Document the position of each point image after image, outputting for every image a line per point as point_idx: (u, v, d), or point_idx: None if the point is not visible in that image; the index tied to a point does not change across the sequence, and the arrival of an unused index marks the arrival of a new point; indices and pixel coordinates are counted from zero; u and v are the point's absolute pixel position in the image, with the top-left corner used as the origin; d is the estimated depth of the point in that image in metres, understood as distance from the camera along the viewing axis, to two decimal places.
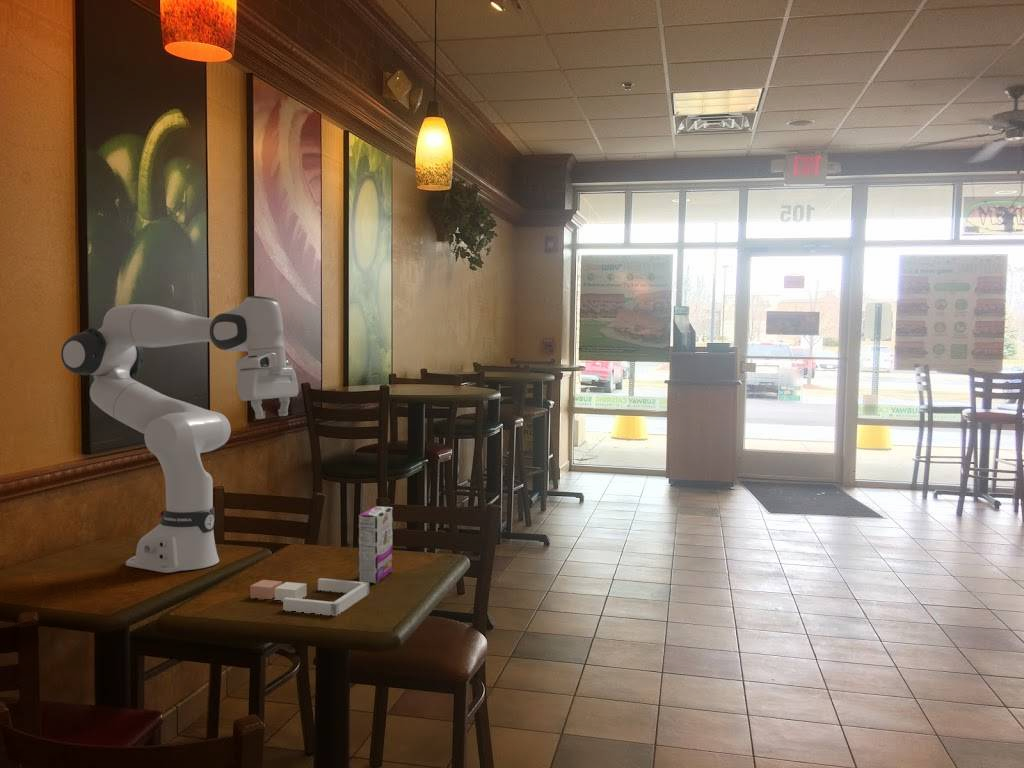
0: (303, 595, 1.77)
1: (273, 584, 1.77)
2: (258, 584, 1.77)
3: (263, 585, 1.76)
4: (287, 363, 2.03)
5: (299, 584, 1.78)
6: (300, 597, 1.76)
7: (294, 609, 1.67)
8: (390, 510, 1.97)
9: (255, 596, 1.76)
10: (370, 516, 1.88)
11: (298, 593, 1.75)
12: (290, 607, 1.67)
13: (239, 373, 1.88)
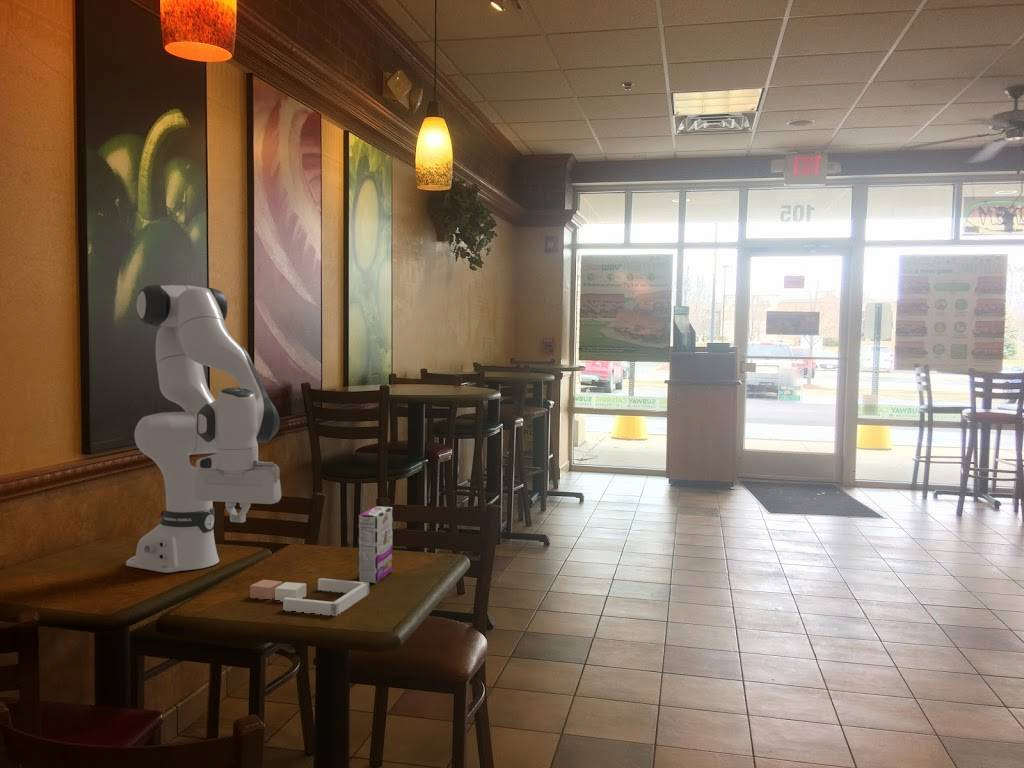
0: (303, 595, 1.77)
1: (273, 584, 1.77)
2: (258, 584, 1.77)
3: (262, 585, 1.76)
4: (267, 464, 1.76)
5: (299, 583, 1.78)
6: (300, 597, 1.76)
7: (294, 609, 1.67)
8: (390, 510, 1.97)
9: (255, 596, 1.76)
10: (370, 516, 1.88)
11: (299, 593, 1.75)
12: (290, 607, 1.67)
13: None
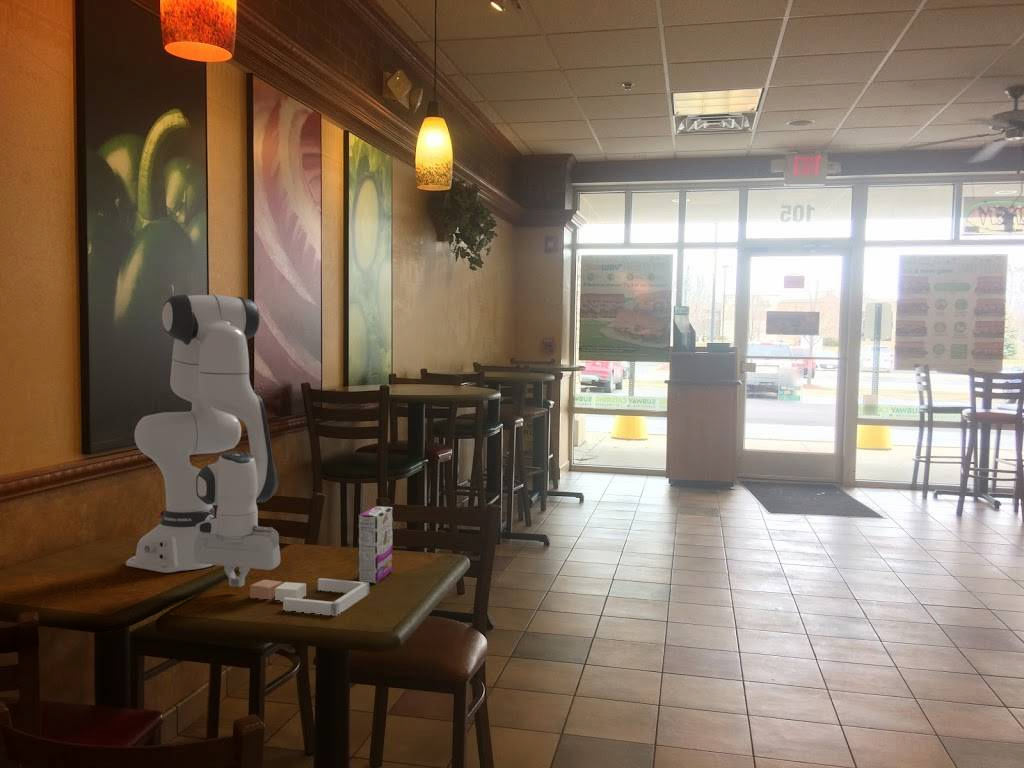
0: (303, 595, 1.77)
1: (273, 584, 1.77)
2: (258, 584, 1.77)
3: (262, 585, 1.76)
4: (266, 530, 1.77)
5: (299, 583, 1.78)
6: (300, 597, 1.76)
7: (294, 609, 1.67)
8: (390, 510, 1.97)
9: (255, 596, 1.76)
10: (370, 516, 1.88)
11: (299, 593, 1.75)
12: (290, 607, 1.67)
13: None
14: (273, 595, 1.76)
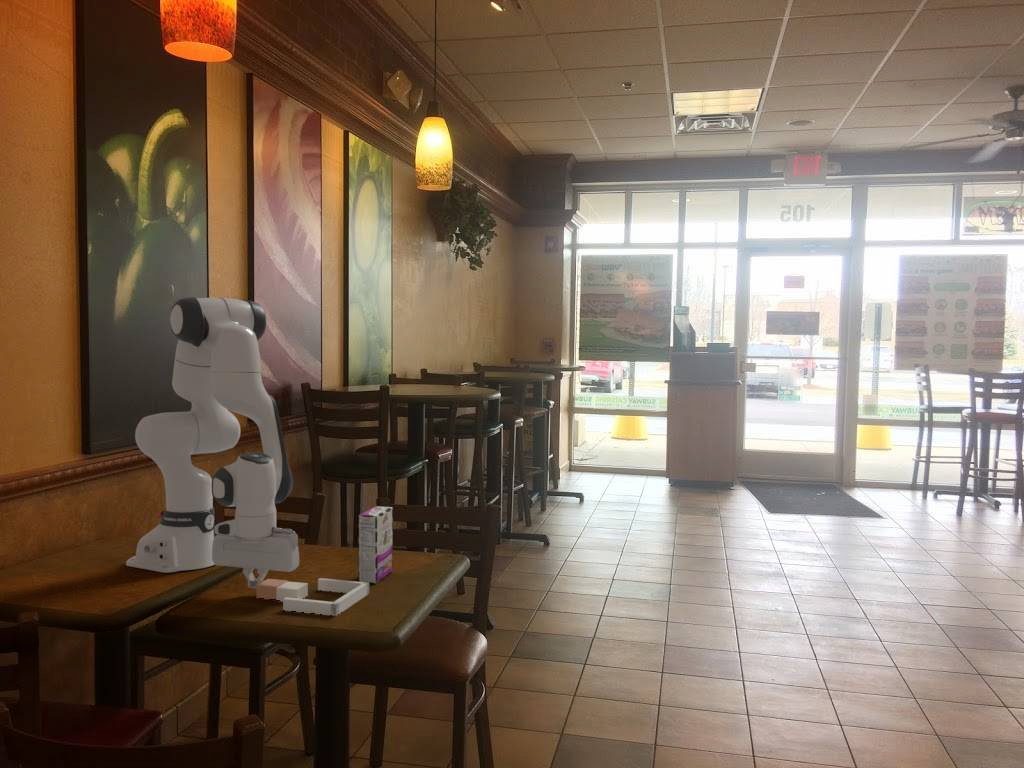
0: (304, 594, 1.77)
1: (279, 583, 1.77)
2: (264, 583, 1.77)
3: (269, 584, 1.76)
4: (285, 531, 1.75)
5: (300, 583, 1.78)
6: (302, 596, 1.76)
7: (294, 609, 1.67)
8: (390, 510, 1.97)
9: (261, 595, 1.76)
10: (370, 516, 1.88)
11: (300, 593, 1.75)
12: (290, 607, 1.67)
13: None
14: None
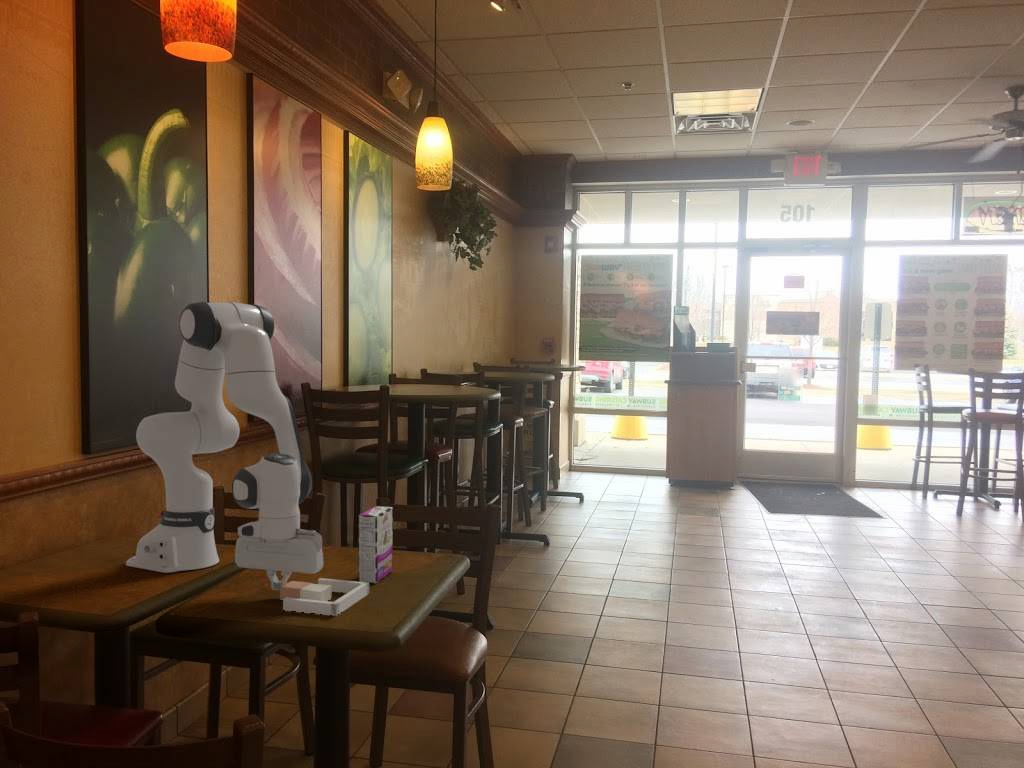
0: (328, 597, 1.75)
1: (303, 585, 1.76)
2: (288, 585, 1.76)
3: (292, 586, 1.75)
4: (309, 533, 1.74)
5: (324, 585, 1.76)
6: (325, 599, 1.74)
7: (294, 609, 1.67)
8: (390, 510, 1.97)
9: (285, 597, 1.74)
10: (370, 516, 1.88)
11: (323, 595, 1.73)
12: (290, 607, 1.67)
13: None
14: None
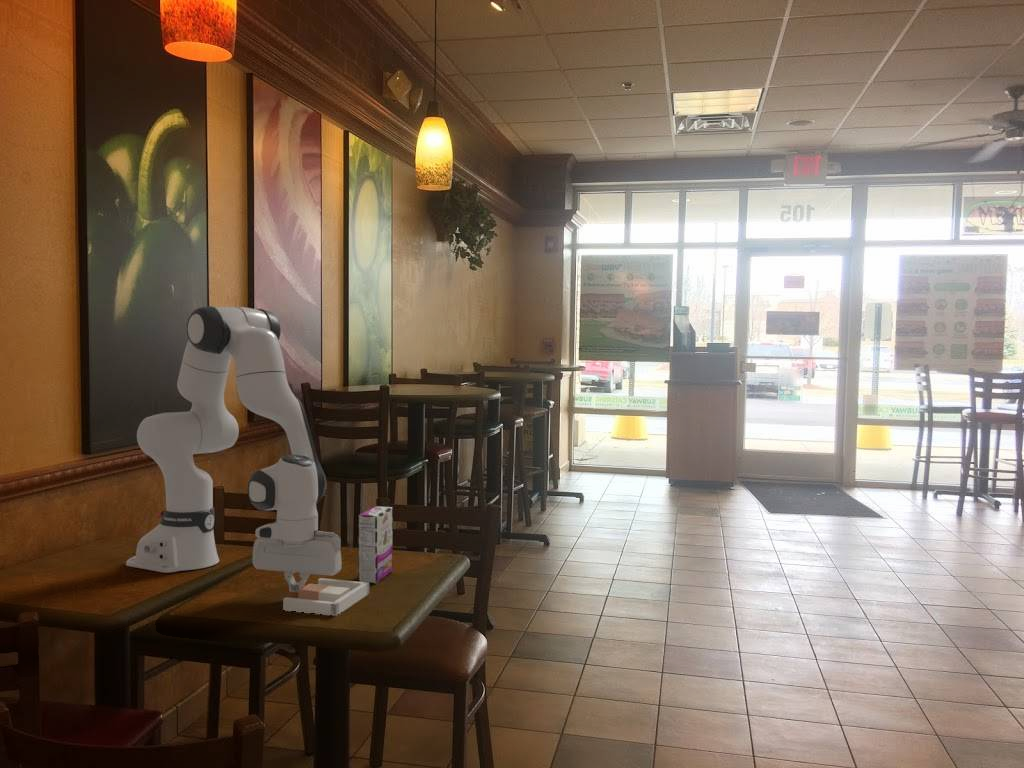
0: None
1: (321, 588, 1.75)
2: (306, 588, 1.75)
3: (311, 589, 1.74)
4: (328, 535, 1.73)
5: (342, 588, 1.75)
6: None
7: (294, 609, 1.67)
8: (390, 510, 1.97)
9: None
10: (370, 516, 1.88)
11: None
12: (290, 607, 1.67)
13: None
14: None
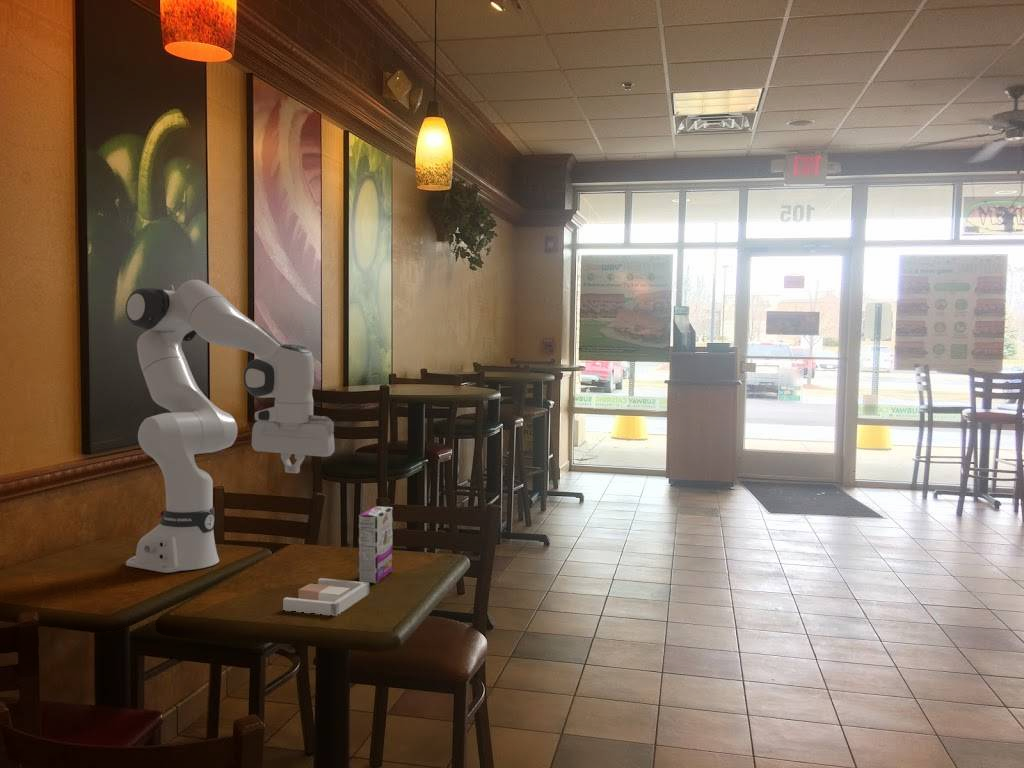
0: None
1: (321, 588, 1.75)
2: (306, 588, 1.75)
3: (311, 589, 1.74)
4: (322, 419, 1.84)
5: (342, 588, 1.75)
6: None
7: (294, 609, 1.67)
8: (390, 510, 1.97)
9: None
10: (370, 516, 1.88)
11: None
12: (290, 607, 1.67)
13: None
14: None
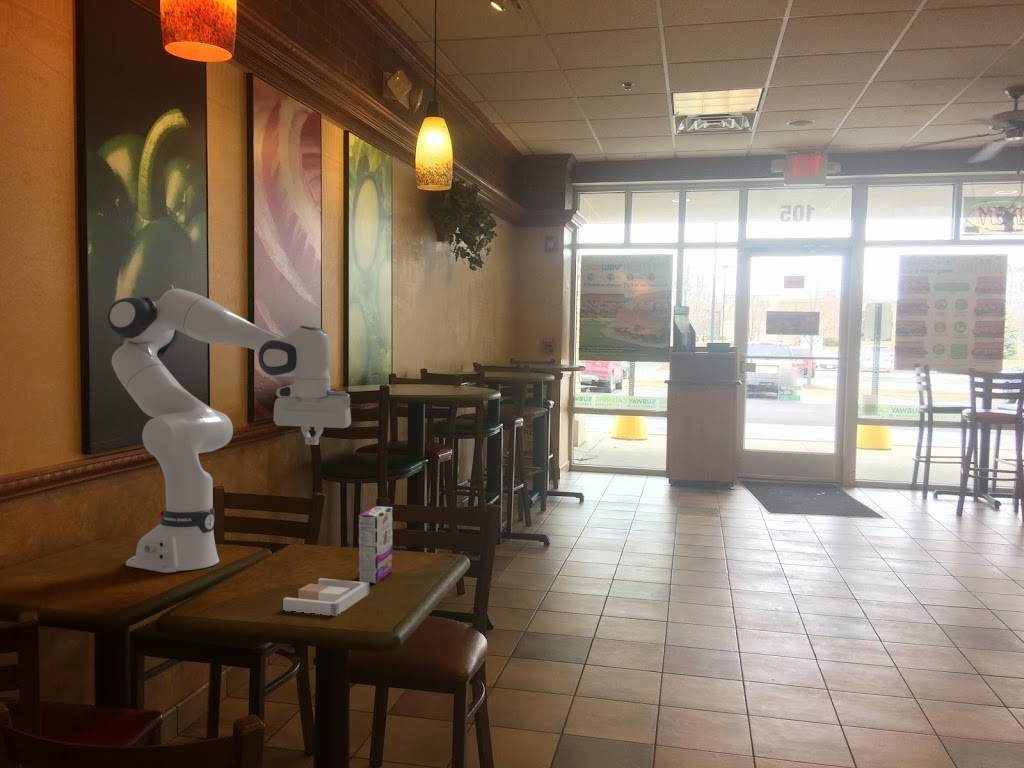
0: None
1: (321, 588, 1.75)
2: (306, 588, 1.75)
3: (311, 589, 1.74)
4: (339, 393, 2.00)
5: (342, 588, 1.75)
6: None
7: (294, 609, 1.67)
8: (390, 510, 1.97)
9: None
10: (370, 516, 1.88)
11: None
12: (290, 607, 1.67)
13: None
14: None
